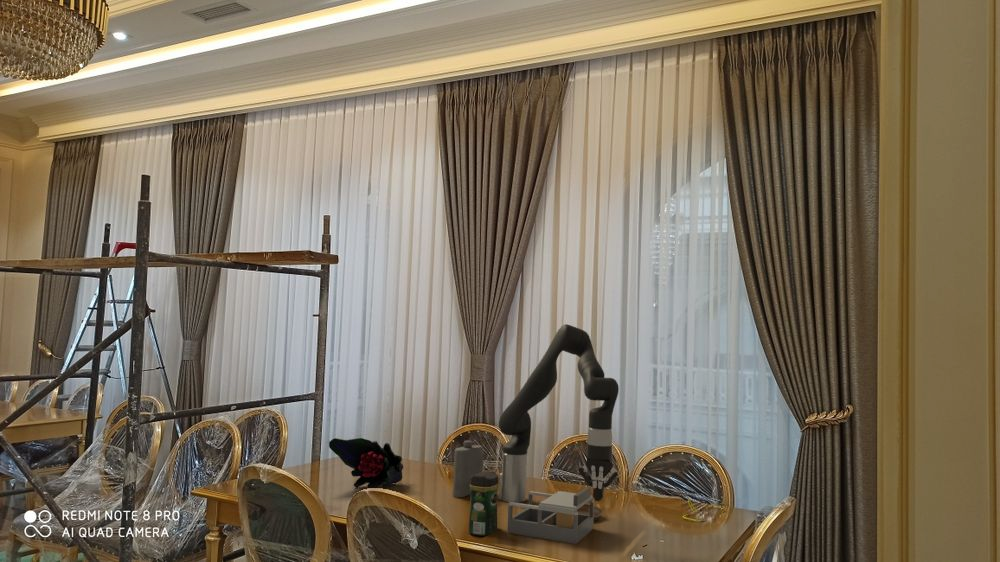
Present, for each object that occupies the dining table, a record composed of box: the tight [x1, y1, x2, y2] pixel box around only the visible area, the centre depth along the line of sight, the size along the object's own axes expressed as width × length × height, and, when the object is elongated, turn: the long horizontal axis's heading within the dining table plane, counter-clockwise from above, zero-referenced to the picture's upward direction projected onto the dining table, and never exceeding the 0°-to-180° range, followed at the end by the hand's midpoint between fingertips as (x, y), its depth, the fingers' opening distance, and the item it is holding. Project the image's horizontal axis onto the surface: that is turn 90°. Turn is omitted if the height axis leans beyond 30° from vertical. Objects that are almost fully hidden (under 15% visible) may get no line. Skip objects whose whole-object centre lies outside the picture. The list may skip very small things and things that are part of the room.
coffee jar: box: [468, 470, 500, 537], centre depth 216 cm, size 10×8×19 cm
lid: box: [538, 486, 594, 514], centre depth 216 cm, size 11×20×5 cm, turn 156°
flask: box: [452, 440, 484, 498], centre depth 266 cm, size 15×6×20 cm, turn 146°
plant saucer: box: [577, 503, 604, 522], centre depth 237 cm, size 21×21×3 cm
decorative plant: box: [328, 437, 404, 489], centre depth 269 cm, size 21×26×30 cm
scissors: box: [682, 498, 723, 522], centre depth 248 cm, size 25×10×5 cm, turn 141°
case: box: [507, 490, 595, 545], centre depth 217 cm, size 22×18×10 cm
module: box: [556, 510, 577, 528], centre depth 215 cm, size 5×5×8 cm
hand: (598, 500), depth 212 cm, fingers closed
